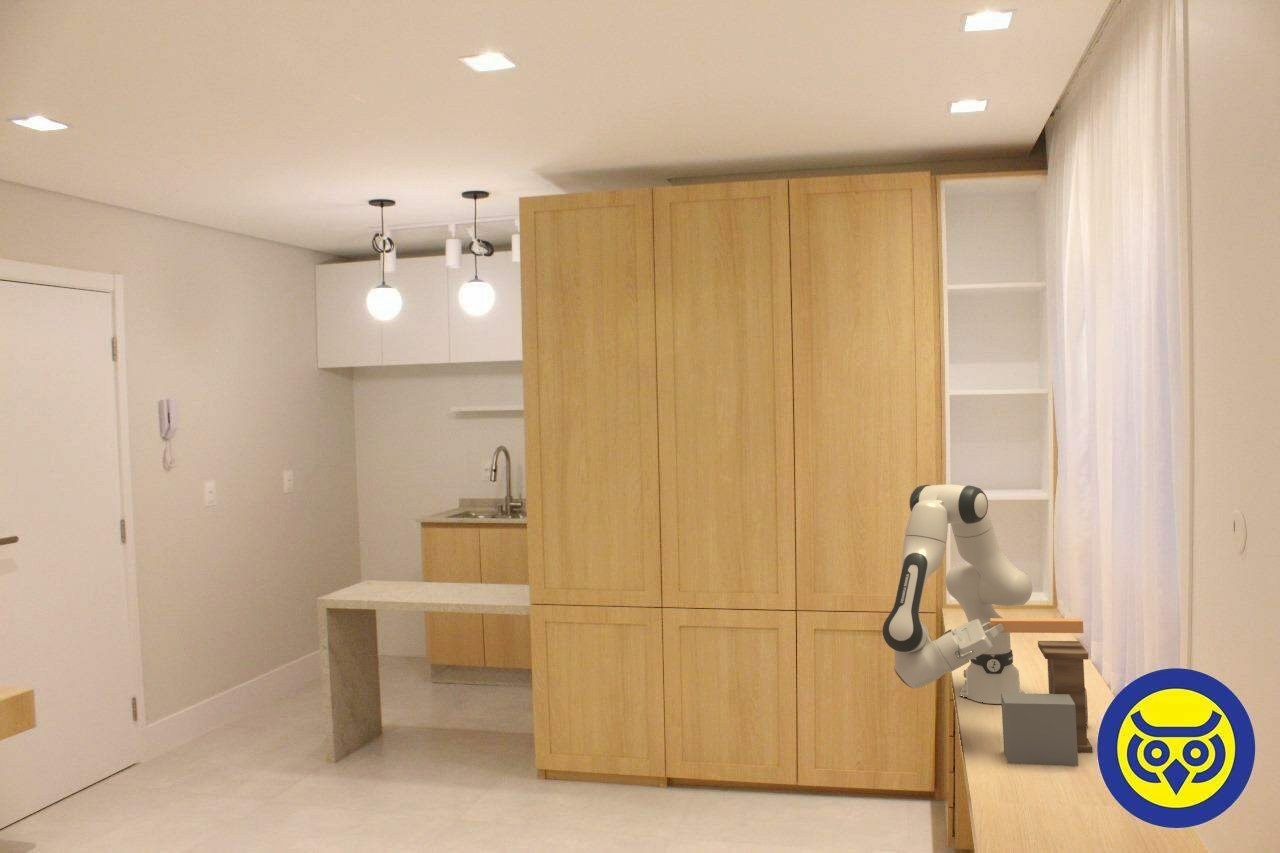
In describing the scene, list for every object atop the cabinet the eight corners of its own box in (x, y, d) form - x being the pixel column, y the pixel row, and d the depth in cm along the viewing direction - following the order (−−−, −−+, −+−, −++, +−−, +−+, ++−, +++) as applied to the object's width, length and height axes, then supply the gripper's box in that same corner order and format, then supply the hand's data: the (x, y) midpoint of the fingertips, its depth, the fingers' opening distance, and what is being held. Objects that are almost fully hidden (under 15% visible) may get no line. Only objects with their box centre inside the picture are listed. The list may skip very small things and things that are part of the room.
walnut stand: (1042, 734, 256) (1037, 640, 255) (1083, 735, 253) (1078, 641, 252) (1049, 751, 244) (1045, 653, 243) (1092, 752, 241) (1088, 653, 241)
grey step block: (1003, 751, 246) (1001, 693, 245) (1071, 753, 242) (1069, 694, 241) (1007, 763, 238) (1004, 703, 237) (1078, 766, 234) (1075, 704, 234)
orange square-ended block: (990, 629, 253) (989, 618, 253) (1081, 630, 248) (1080, 618, 248) (991, 632, 250) (991, 621, 250) (1083, 633, 245) (1083, 621, 245)
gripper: (950, 649, 244) (999, 622, 241) (945, 629, 264) (990, 604, 261) (964, 671, 244) (1014, 644, 241) (958, 649, 264) (1003, 624, 260)
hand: (1001, 623), depth 251 cm, fingers closed on orange square-ended block, 3 cm apart
